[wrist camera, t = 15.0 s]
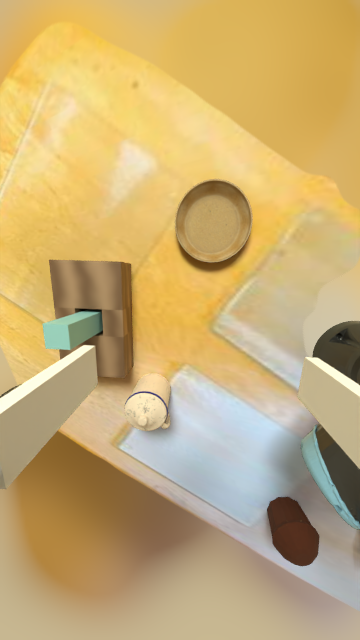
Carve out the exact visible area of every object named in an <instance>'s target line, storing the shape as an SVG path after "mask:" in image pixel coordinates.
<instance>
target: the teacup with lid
mask: <svg viewBox="0 0 360 640" xmlns="http://www.w3.org/2000/svg"><path fill="white" fill-rule="evenodd" d="M170 393H171V387H170V384H169V382H168V381H167V379H166V378H165V377H163V376H162V375H160V374H156V373H149V374H146V375H144V376H142V377H141V378H140V379H139V381H138V382H137V384H136V386H135V388H134V390H133V392H132V394H131V396H130V397H129V398H128V399H127V401H126V403H125V408H124V409H125V410H124V411H125V416H126V419H127V420H128V422H129V423H130V424H131V425H132V426H133V427H135V428H137V429H139V430H143V431H151V430H155V429H157V428H159V427H160V426H161V427H162V428H163V429H167V428H168V427H169V426H170V416H169V413H168V409H167V408H168V403H169V398H170Z"/></svg>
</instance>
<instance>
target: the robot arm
mask: <svg viewBox="0 0 360 640" xmlns="http://www.w3.org/2000/svg"><path fill="white" fill-rule="evenodd" d="M97 385H98V379H97V365H96V350H95V346H90V345H83V346H82V347H80V348H78V349H77V350H75V351H74V352H72V353H71V354H69V355H67V356H66V357H64V358H63V359H61V360H60V361H58V362H56V363H55V364H53V365H52V366H50V367H49V368H47V369H45V370H44V371H42V372H41V373H39V374H38V375H36V376H34V377H33V378H31V379H30V380H28V381H26V382H25V383H23V384H21V385H18V386H16V387H14V388H12V389H10V390H9V391H7V392H5V393H4V394H2V396H0V489H7V487H8V486H9V485H10V484H11V483H12V482H13V481H14V479H15V478H16V477H17V476H18V475H19V474H20V473H21V471H22V470H23V469H24V468H25V467H26V466H27V464H28V463H29V462H30V461H31V460H32V459H33V458H34V457H35V455H36V454H37V453H38V452H39V451H40V450H41V449H42V447H43V446H44V445H45V444H46V443H47V441H48V440H49V439H50V438H51V437H52V436H53V435H54V434H55V433H56V431H57V430H58V429H59V428H60V427H61V426H62V425H63V423H64V422H65V421H66V420H67V419H68V418H69V417H70V415H71V414H72V413H73V412H74V411H75V410H76V409H77V407H78V406H79V405H80V404H81V403H82V402H83V401H84V399H85V398H86V397H87V396H88V395H89V394H90V393H91V391H92V390H93V389H94V388H95V387H96V386H97ZM297 397H298V399H299V400H300V401H301V402H302V403H303V404H304V406H305V407H306V408H307V409H308V410H309V411H310V412H311V414H312V415H313V416H314V417H315V418H316V419H317V421H318V422H319V423H320V424H318V425H315V426H314V428H313V430H312V431H311V432H310V433H309V434H308V435H306V436H305V437H304V438H303V440H302V442H301V450H302V456H303V459H304V461H305V463H306V466H307V468H308V470H309V472H310V474H311V475H312V477H313V479H314V481H315V482H316V484H317V485H318V487H319V489H320V490H321V492H322V493H323V495H324V496H325V497H326V499H327V500H328V502H329V503H330V504H331V505H333V506H334V508H335V509H336V511H337V513H338V514H339V515H340V516H341V517H342V519H343V520H344V521H345V522H346V523H348V524H349V525H350V526H351V527H353V528H355V529H357V530H360V321H348V322H343V323H340V324H338V325H335V326H333V327H332V328H330V329H329V330H327V331H326V332H325V333H324V334H323V335H322V336H321V337H320V338H319V340H318V341H317V343H316V345H315V347H314V351H313V358H312V357H305V359H304V364H303V369H302V375H301V380H300V385H299V390H298V396H297Z"/></svg>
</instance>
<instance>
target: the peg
mask: <svg viewBox="0 0 360 640" xmlns="http://www.w3.org/2000/svg"><path fill="white" fill-rule="evenodd" d="M102 330H103V321H102V309H88V310H84V311H81V312H78V313H75V314H72V315H69V316H66V317H62V318H59V319H56V320H53V321H50V322H47V323H44V324H43V331H44V339H45V346H46V349H64V350H71V349H73V348H74V347H76V346H78V345H79V344H81V343H83V342H84V341H86V340H88V339H89V338H91V337H93V336H94V335H96V334H97V333H99V332H101V331H102Z"/></svg>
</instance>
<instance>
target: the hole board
mask: <svg viewBox="0 0 360 640" xmlns="http://www.w3.org/2000/svg"><path fill="white" fill-rule="evenodd" d="M49 264H50V273H51V281H52V290H53V299H54V308H55V317H56V319H59V318H62V317H66V316H69V315H72V314H75V313H78V312H81V311H84V310H88V309H102V321H103V330H102V331H101V332H99V333H97V334H96V335H94V336H93V337H91V338H89V339H88V340H86V341H84V342H83V343H81V344H79V345H78V346H76V347H74V348H73V349H71V350H64V349H59V352H60V360H61V359H63V358H64V357H66V356H67V355H69V354H71V353H72V352H74V351H75V350H77V349H78V348H80V347H82V346H83V345H90V346H95V350H96V365H97V376H100V377H116V378H125V377H126V376H127V374H128V373H129V371H130V370H131V368H132V367H133V337H132V295H131V264H129V263H124V262H108V261H74V260H49Z"/></svg>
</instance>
